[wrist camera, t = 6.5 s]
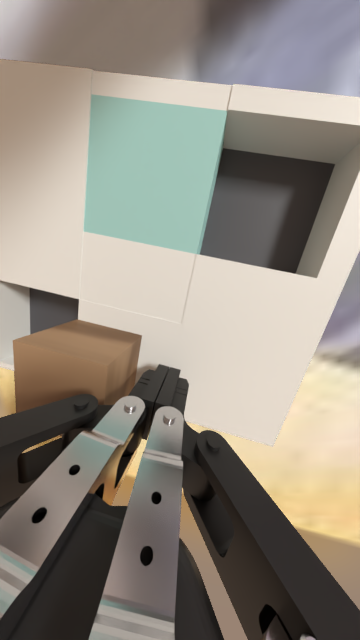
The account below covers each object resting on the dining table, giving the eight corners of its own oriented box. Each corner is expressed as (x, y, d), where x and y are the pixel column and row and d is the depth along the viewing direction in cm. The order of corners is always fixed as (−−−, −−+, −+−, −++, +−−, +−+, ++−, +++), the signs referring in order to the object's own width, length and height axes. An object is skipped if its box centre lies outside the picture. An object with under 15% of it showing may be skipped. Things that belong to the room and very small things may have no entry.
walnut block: (77, 319, 13) (12, 340, 9) (142, 335, 13) (107, 365, 8) (74, 378, 14) (17, 421, 10) (133, 394, 14) (99, 448, 10)
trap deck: (16, 103, 13) (-38, 54, 10) (366, 150, 11) (423, 104, 8) (23, 350, 18) (-11, 363, 15) (261, 416, 16) (273, 447, 13)
